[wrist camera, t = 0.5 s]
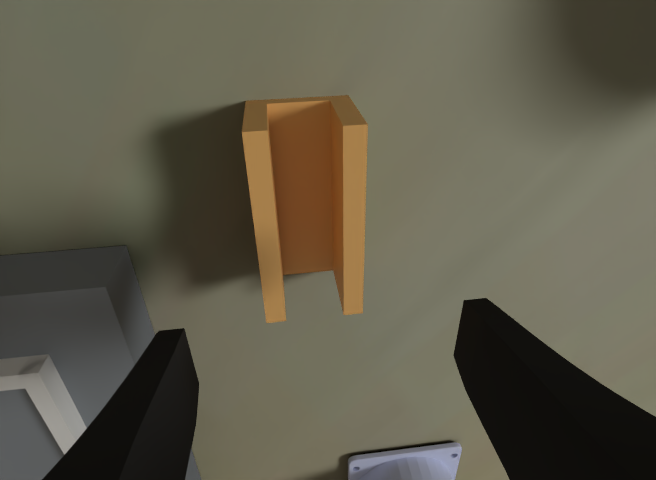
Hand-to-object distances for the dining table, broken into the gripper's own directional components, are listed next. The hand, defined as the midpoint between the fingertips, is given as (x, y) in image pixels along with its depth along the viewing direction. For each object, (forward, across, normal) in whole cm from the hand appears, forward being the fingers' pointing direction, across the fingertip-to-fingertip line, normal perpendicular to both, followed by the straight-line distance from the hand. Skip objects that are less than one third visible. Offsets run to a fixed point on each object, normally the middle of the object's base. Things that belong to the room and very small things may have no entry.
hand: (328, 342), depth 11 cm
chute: (+9, 0, 0) cm, 9 cm away
